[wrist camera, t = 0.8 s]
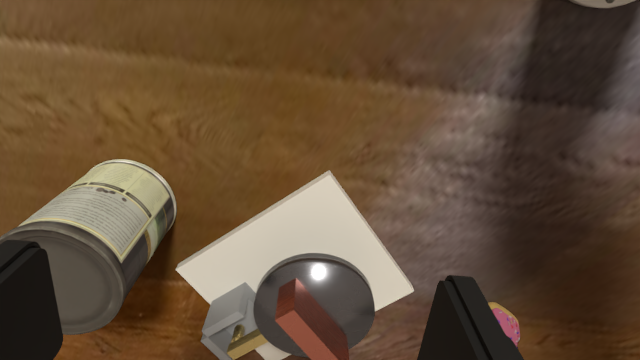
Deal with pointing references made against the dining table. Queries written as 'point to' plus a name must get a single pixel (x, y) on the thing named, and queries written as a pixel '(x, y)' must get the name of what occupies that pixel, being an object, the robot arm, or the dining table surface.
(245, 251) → the pedestal
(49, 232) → the coffee can
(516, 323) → the cupcake
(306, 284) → the handwheel
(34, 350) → the robot arm
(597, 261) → the dining table surface
